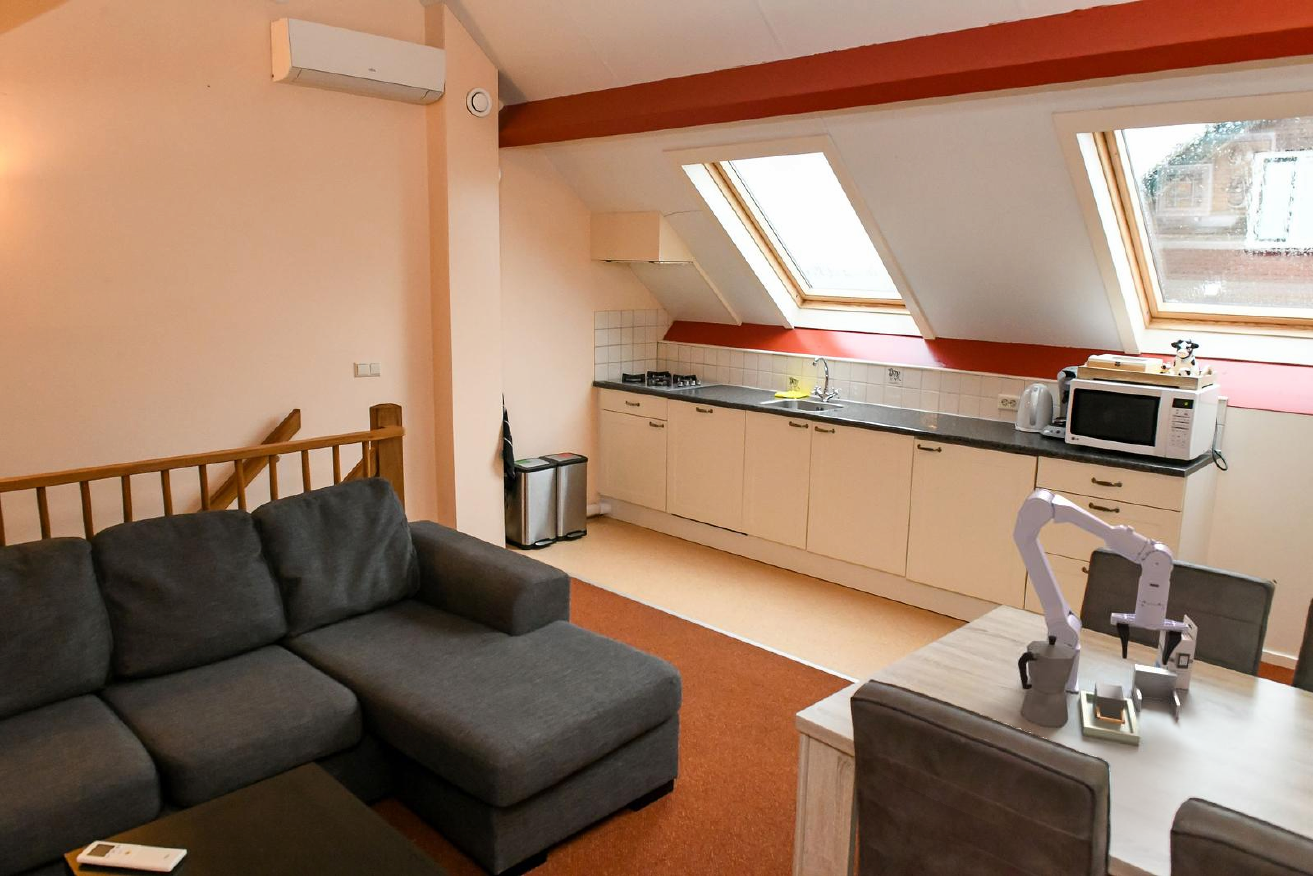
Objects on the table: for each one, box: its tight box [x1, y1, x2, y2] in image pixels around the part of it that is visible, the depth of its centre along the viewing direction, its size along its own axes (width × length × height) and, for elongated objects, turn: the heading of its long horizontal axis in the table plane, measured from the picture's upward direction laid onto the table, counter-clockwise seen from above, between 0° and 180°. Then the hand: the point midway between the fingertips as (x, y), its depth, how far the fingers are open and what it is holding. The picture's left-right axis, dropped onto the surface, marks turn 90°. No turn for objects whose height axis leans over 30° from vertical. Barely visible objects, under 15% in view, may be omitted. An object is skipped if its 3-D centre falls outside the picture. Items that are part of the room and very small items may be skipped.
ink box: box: [1155, 614, 1199, 690], centre depth 211 cm, size 9×5×15 cm, turn 168°
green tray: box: [1078, 689, 1141, 747], centre depth 193 cm, size 10×17×2 cm, turn 158°
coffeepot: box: [1017, 635, 1076, 728], centre depth 192 cm, size 15×9×18 cm, turn 116°
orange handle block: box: [1093, 681, 1125, 724], centre depth 192 cm, size 5×12×5 cm, turn 158°
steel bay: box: [1131, 663, 1181, 720], centre depth 200 cm, size 8×11×6 cm
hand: (1144, 660), depth 200 cm, fingers open, 7 cm apart
